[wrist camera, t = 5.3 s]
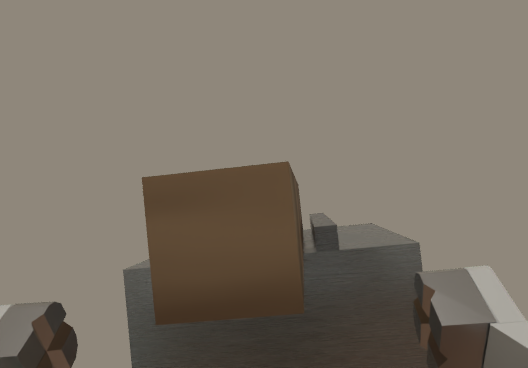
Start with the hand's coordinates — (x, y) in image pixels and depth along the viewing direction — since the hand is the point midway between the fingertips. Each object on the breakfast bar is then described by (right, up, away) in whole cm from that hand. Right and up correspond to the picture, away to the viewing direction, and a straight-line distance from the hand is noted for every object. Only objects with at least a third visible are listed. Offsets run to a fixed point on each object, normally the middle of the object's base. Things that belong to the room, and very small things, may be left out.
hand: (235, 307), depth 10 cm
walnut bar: (+1, 0, +9) cm, 9 cm away
